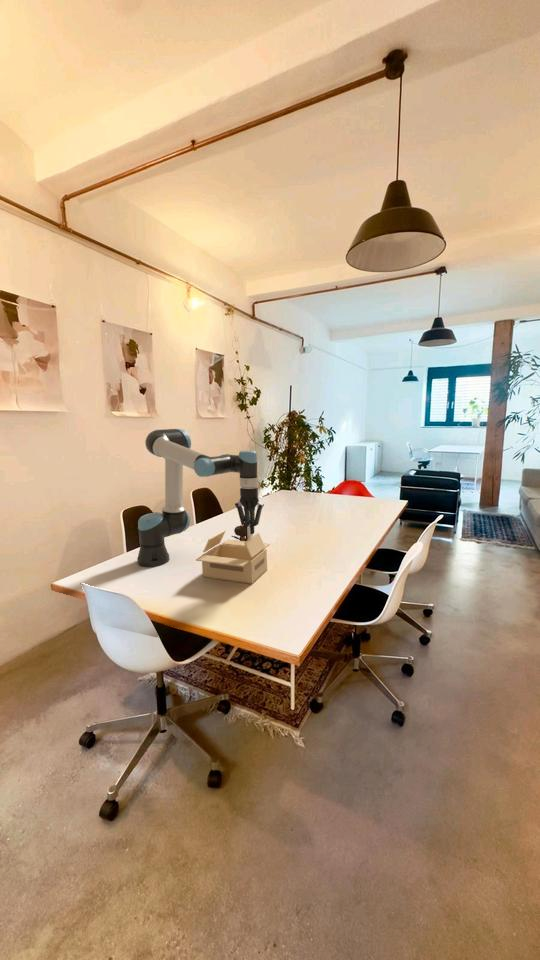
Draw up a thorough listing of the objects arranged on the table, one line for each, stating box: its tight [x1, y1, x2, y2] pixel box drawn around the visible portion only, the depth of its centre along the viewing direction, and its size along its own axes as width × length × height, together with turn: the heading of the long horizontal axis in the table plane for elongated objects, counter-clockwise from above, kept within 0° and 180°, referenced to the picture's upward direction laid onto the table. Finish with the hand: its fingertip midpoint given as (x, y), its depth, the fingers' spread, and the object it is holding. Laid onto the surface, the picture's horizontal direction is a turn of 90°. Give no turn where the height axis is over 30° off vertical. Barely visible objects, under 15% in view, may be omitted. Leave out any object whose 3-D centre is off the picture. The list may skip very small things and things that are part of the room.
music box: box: [231, 524, 250, 541], centre depth 194 cm, size 15×11×20 cm
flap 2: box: [244, 532, 266, 558], centre depth 164 cm, size 1×14×7 cm, turn 157°
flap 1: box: [203, 529, 226, 553], centre depth 171 cm, size 1×14×7 cm, turn 160°
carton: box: [195, 539, 271, 585], centre depth 169 cm, size 24×28×10 cm
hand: (250, 541), depth 164 cm, fingers closed
